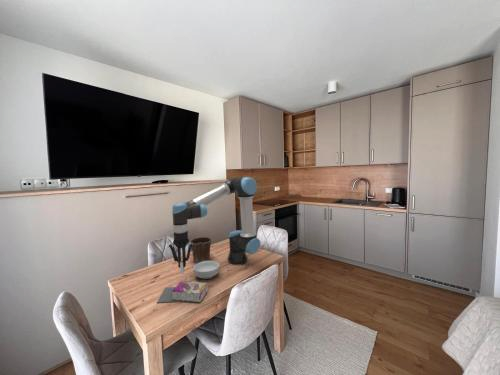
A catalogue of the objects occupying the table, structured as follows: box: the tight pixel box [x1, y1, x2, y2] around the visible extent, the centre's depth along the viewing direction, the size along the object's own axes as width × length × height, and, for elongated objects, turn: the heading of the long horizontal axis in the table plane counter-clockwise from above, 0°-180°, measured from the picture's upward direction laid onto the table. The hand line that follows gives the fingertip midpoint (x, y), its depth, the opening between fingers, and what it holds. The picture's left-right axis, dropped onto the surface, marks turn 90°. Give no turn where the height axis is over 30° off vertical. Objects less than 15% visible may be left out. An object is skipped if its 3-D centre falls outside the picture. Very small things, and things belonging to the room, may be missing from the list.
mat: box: [156, 286, 184, 304], centre depth 115 cm, size 22×14×1 cm, turn 96°
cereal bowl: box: [193, 260, 220, 280], centre depth 135 cm, size 17×17×7 cm
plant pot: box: [189, 236, 212, 264], centre depth 159 cm, size 16×16×16 cm
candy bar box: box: [171, 280, 209, 303], centre depth 113 cm, size 11×5×16 cm
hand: (182, 272), depth 114 cm, fingers closed
